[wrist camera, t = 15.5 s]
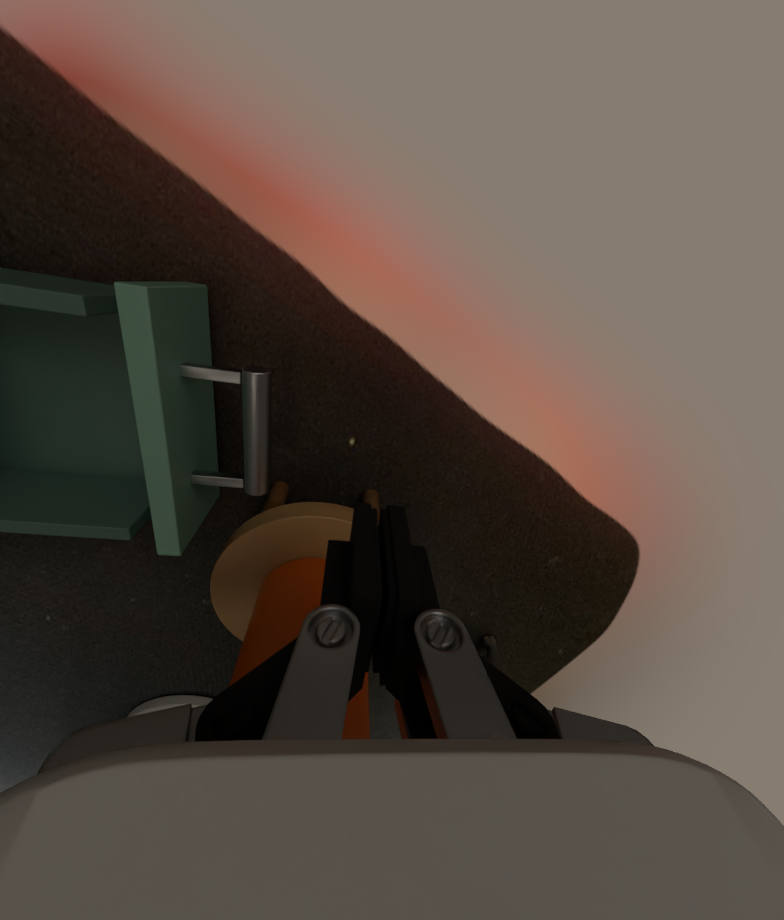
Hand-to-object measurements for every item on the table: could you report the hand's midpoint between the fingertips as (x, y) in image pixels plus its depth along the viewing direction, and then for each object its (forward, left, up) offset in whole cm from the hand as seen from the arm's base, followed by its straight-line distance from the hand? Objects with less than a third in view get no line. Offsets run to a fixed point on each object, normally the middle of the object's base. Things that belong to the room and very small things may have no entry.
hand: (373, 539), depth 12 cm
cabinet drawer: (0, +14, -13) cm, 19 cm away
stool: (-10, +2, -14) cm, 17 cm away
